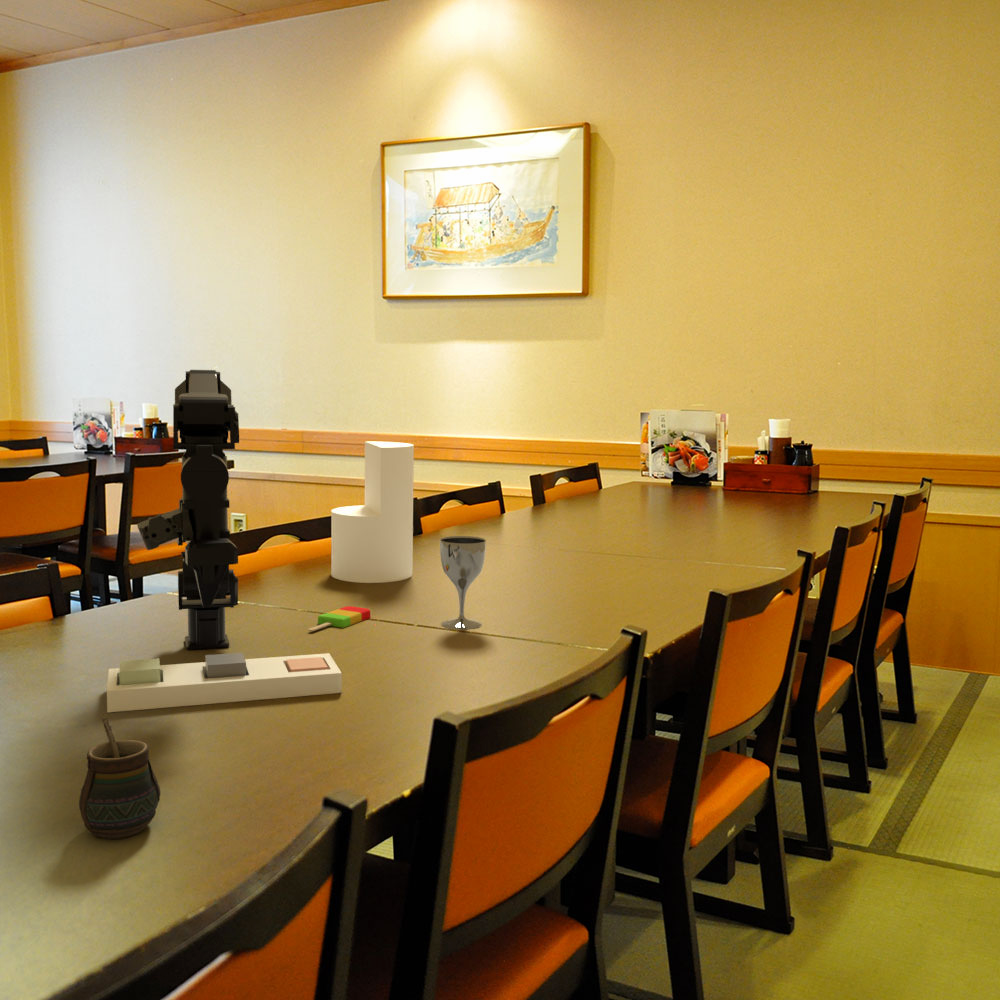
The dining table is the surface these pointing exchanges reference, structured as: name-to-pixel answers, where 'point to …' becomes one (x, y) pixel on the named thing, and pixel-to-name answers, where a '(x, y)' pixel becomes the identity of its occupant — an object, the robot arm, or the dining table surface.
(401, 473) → the cylinder
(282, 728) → the dining table surface
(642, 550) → the dining table surface
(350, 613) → the popsicle
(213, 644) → the robot arm
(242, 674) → the charcoal key
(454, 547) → the wine glass
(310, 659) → the terracotta key
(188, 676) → the cream block puzzle board
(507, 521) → the dining table surface
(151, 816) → the mate gourd
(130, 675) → the sage key
